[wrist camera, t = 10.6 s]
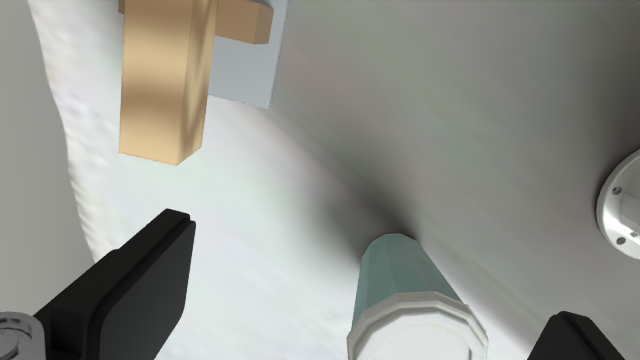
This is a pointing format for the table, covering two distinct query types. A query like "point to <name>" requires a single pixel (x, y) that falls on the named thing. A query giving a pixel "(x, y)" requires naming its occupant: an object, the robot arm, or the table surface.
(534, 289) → the table surface
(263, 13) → the stand
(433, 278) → the disposable coffee cup
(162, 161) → the oak bar
